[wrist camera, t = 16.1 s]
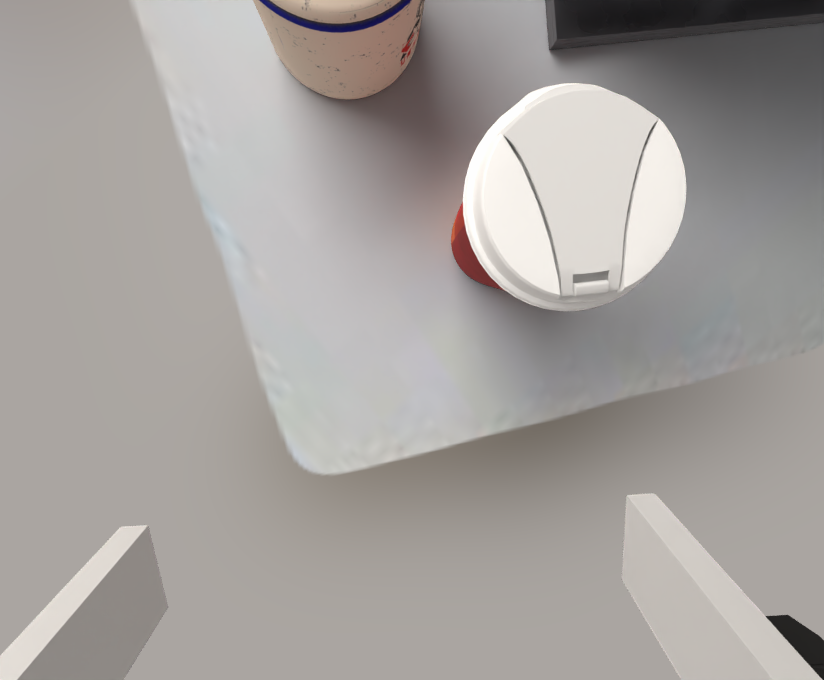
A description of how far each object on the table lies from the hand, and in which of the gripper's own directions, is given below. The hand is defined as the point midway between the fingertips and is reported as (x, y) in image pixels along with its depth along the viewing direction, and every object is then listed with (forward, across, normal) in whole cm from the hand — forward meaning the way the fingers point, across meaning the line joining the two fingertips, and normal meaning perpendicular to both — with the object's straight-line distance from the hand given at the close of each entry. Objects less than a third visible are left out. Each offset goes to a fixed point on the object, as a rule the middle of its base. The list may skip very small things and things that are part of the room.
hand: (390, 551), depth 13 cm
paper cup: (+19, +6, +7) cm, 21 cm away
